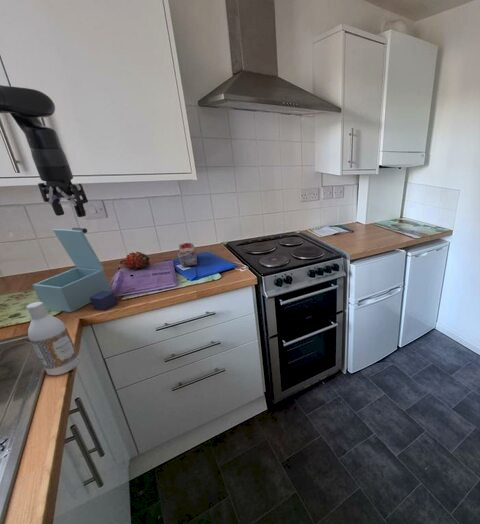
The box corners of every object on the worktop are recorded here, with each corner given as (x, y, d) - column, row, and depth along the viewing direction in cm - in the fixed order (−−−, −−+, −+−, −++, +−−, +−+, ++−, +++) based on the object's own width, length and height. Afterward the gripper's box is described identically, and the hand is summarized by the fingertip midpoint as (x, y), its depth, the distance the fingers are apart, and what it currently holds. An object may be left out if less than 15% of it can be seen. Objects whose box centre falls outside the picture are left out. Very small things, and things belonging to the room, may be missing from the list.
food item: (199, 265, 145) (195, 246, 141) (181, 269, 141) (176, 249, 137) (196, 256, 156) (192, 238, 152) (179, 259, 152) (174, 241, 148)
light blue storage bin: (71, 312, 107) (60, 288, 103) (43, 308, 109) (32, 284, 105) (111, 291, 121) (103, 269, 117) (85, 288, 123) (77, 267, 119)
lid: (80, 231, 108) (92, 225, 112) (52, 229, 110) (65, 223, 114) (102, 269, 117) (112, 262, 121) (75, 266, 119) (87, 259, 123)
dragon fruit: (154, 269, 144) (126, 276, 141) (153, 255, 148) (126, 261, 145) (145, 261, 136) (115, 267, 134) (144, 246, 140) (116, 252, 138)
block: (105, 310, 108) (100, 298, 106) (94, 309, 109) (89, 297, 107) (117, 303, 112) (113, 292, 110) (106, 302, 113) (102, 290, 111)
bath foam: (60, 378, 78) (28, 313, 70) (40, 373, 80) (6, 309, 72) (87, 360, 84) (60, 299, 77) (68, 356, 86) (39, 295, 78)
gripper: (19, 164, 89) (40, 217, 96) (58, 165, 87) (77, 220, 93) (46, 162, 96) (65, 212, 103) (83, 163, 94) (100, 214, 100)
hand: (71, 215), depth 98 cm, fingers open, 8 cm apart
